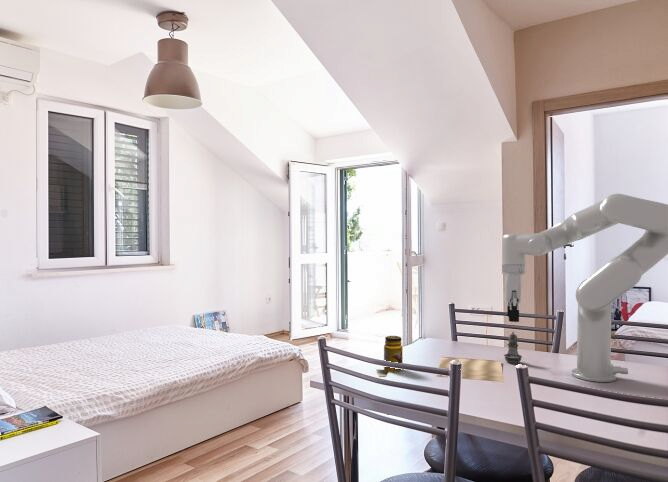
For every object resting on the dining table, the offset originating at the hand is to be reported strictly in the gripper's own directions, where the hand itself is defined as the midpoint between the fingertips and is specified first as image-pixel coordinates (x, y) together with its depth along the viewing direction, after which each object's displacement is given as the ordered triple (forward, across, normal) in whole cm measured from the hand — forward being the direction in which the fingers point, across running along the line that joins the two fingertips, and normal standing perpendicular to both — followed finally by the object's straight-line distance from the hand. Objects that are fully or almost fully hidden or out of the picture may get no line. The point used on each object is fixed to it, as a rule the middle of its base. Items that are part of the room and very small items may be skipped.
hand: (513, 319), depth 170 cm
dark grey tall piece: (+16, 0, 0) cm, 16 cm away
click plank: (+16, +8, -14) cm, 23 cm away
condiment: (+17, +21, -39) cm, 47 cm away
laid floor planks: (+16, +19, -14) cm, 29 cm away
